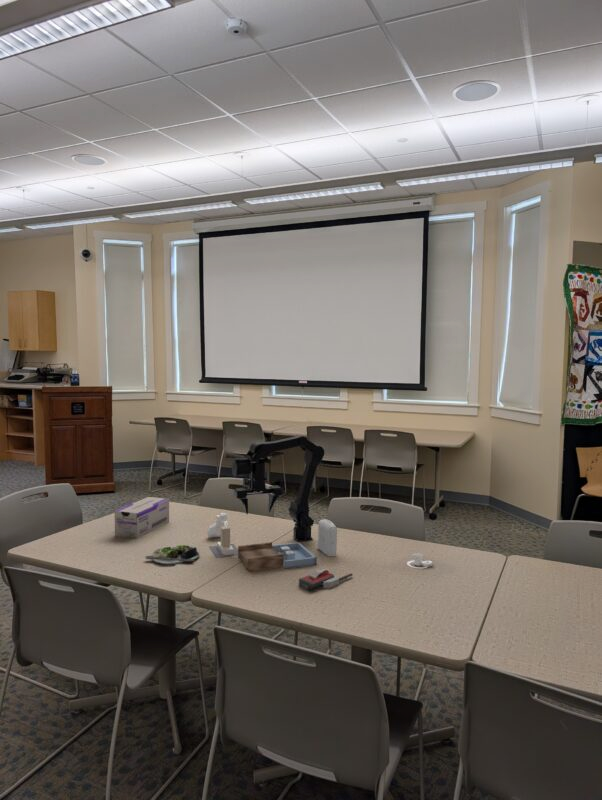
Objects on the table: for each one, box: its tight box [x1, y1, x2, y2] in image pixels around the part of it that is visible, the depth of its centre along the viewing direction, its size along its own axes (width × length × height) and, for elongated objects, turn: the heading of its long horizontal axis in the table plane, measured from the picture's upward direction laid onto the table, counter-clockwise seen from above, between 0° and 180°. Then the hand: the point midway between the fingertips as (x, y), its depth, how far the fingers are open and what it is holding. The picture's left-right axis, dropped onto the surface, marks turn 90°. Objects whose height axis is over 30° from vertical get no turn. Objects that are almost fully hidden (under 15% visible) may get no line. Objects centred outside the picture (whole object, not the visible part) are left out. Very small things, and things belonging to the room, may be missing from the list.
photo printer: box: [317, 518, 338, 557], centre depth 212 cm, size 10×4×12 cm, turn 23°
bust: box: [206, 512, 230, 539], centre depth 229 cm, size 12×8×11 cm
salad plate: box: [145, 544, 200, 566], centre depth 203 cm, size 19×18×5 cm
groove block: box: [237, 542, 284, 572], centre depth 200 cm, size 13×14×4 cm
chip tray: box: [272, 541, 318, 569], centre depth 205 cm, size 12×18×3 cm, turn 21°
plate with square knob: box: [216, 526, 234, 556], centre depth 211 cm, size 4×10×9 cm, turn 22°
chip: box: [280, 546, 290, 557], centre depth 206 cm, size 3×3×3 cm
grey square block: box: [285, 551, 295, 560], centre depth 202 cm, size 3×3×3 cm
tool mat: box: [208, 543, 238, 559], centre depth 211 cm, size 10×13×1 cm
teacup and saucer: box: [406, 552, 433, 570], centre depth 200 cm, size 9×8×4 cm
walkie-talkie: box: [298, 568, 353, 592], centre depth 183 cm, size 9×4×20 cm
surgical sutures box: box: [114, 496, 170, 539], centre depth 238 cm, size 25×11×11 cm, turn 163°
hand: (258, 513), depth 218 cm, fingers open, 9 cm apart
